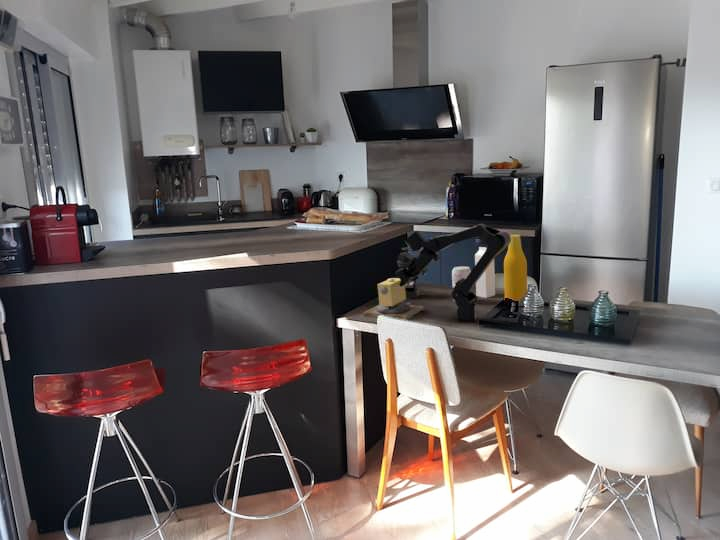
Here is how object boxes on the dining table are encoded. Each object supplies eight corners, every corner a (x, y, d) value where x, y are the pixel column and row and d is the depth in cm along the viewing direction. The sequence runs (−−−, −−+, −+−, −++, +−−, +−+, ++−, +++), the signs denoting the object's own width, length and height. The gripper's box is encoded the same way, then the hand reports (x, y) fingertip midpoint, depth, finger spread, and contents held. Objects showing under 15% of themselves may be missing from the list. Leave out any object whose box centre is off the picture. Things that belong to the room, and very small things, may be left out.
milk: (486, 298, 251) (484, 249, 247) (476, 296, 256) (474, 247, 252) (495, 295, 255) (494, 246, 250) (485, 293, 260) (483, 245, 255)
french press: (424, 295, 263) (421, 246, 259) (410, 300, 257) (407, 250, 253) (405, 292, 272) (402, 245, 268) (391, 297, 266) (388, 248, 261)
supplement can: (472, 298, 252) (470, 265, 249) (472, 303, 244) (471, 269, 241) (453, 299, 253) (451, 266, 250) (453, 304, 245) (451, 270, 243)
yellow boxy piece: (406, 298, 242) (404, 275, 240) (391, 306, 231) (389, 282, 229) (394, 298, 245) (392, 275, 243) (378, 305, 235) (376, 282, 233)
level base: (423, 309, 240) (423, 300, 239) (405, 320, 227) (405, 310, 226) (382, 306, 251) (382, 297, 250) (363, 315, 238) (362, 306, 237)
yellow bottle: (516, 308, 232) (515, 238, 226) (500, 304, 239) (498, 236, 234) (532, 304, 236) (531, 234, 231) (515, 300, 244) (513, 233, 238)
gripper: (419, 242, 236) (398, 267, 244) (398, 249, 221) (375, 276, 229) (438, 261, 233) (415, 285, 242) (417, 270, 218) (394, 296, 226)
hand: (400, 285), depth 235 cm, fingers closed
